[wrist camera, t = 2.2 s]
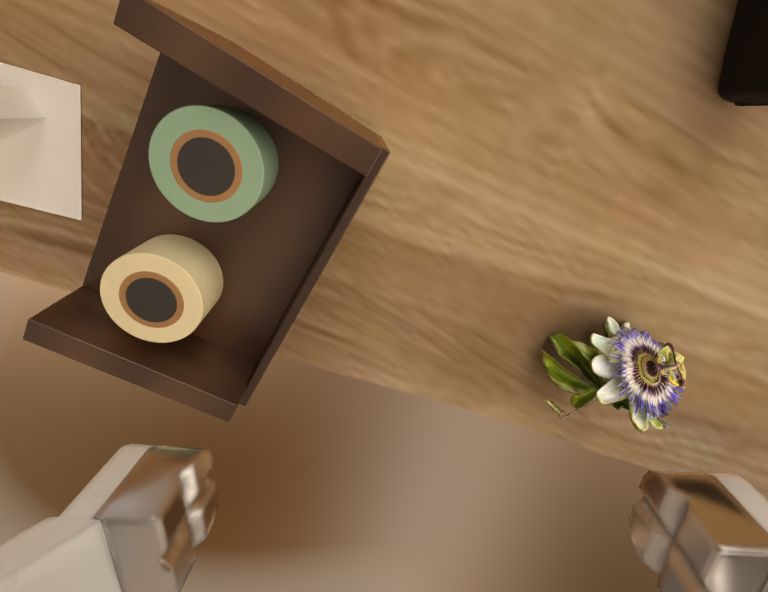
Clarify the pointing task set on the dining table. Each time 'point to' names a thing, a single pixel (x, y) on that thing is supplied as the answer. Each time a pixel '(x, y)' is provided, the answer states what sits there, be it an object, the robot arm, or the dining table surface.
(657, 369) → the passion flower
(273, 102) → the shelf
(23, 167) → the napkin holder
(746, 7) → the film camera
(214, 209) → the sage tape roll
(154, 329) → the cream tape roll
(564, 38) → the dining table surface
